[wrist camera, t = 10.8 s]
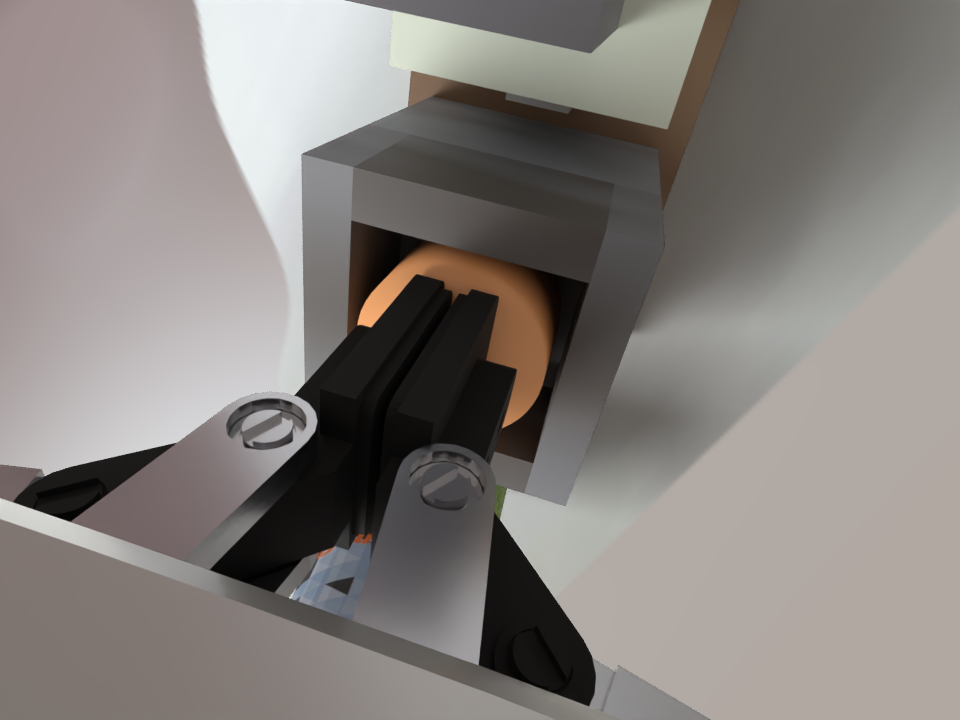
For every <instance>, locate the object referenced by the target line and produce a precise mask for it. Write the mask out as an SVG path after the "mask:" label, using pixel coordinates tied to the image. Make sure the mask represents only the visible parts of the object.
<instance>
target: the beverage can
mask: <svg viewBox="0 0 960 720" xmlns="http://www.w3.org/2000/svg"><path fill="white" fill-rule="evenodd" d="M496 488H497V489H496V498H495V508H494V512H495V514H496V515H497V516H498V518H499V519H500V516H501V512H502V507H503V503H504V499H505V494H506V490H507V488H506V487H502V486H499V485H496ZM372 529H373V526H372V528H371V530H370V532H369V533H368V535H366V536H365V535H362V534H357V536H356V538H355V540H354V541H353V543H352V545H351V547H350V549H349V550H346V549H343V548H340V547H337V546H334V547H333V548H330V549H328V550H325V551H322V552H319V553H317V558H316V561H315V563H314V565H313V567H312V568H311V570H310V572H309V573H308V574H307V575H306V577H305V578H304V579H303V580H302V582H301V583H300V584H299V585H298V587H297V588H296V590H295V592H294V594H293V597H292V598H291V599H293V600H296V601H298V602H301V603H304V604H307V605H310V606H313V607H316V608H318V609H321V610H324V611H327V612H330V613H332V614H335V615H338V616H341V617H344V618H346V619H349V620H353V617H354V613H355V610H356V607H357V603H358V600H359V597H360V594H361V590H362V587H363V584H364V580H365V577H366V574H367V571H368V567H369V564H370V553H371V541H372Z"/></svg>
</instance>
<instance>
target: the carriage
mask: <svg viewBox="0 0 960 720" xmlns="http://www.w3.org/2000/svg"><path fill="white" fill-rule="evenodd" d="M346 1H351V2H356V3H360V4H365V5H369V6H374V7H379V8H383V9H388V10H392V11H393V12H392V28H391V43H390V58H389V66H393V67H398V68H402V69H406V70H411V71H415V72H419V73H424V74H428V75H432V76H437V77H441V78H446V79H450V80H454V81H459V82H463V83H467V84H472V85H476V86H480V87H485V88H489V89H493V90H498V91H502V92H507V93H511V94H515V95H520V96H524V97H528V98H533V99H537V100H541V101H546V102H550V103H554V104H559V105H563V106H567V107H572V108H576V109H581V110H585V111H589V112H594V113H598V114H602V115H607V116H611V117H615V118H620V119H624V120H628V121H633V122H637V123H642V124H646V125H650V126H655V127H659V128H663V129H668V126H669V123H670V120H671V118H672V115H673V112H674V109H675V106H676V103H677V100H678V97H679V94H680V91H681V88H682V85H683V82H684V79H685V76H686V74H687V71H688V68H689V65H690V62H691V59H692V56H693V53H694V50H695V47H696V44H697V41H698V38H699V35H700V32H701V30H702V27H703V24H704V21H705V18H706V15H707V12H708V9H709V6H710V3H711V0H346Z"/></svg>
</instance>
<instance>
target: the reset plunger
mask: <svg viewBox="0 0 960 720" xmlns="http://www.w3.org/2000/svg"><path fill="white" fill-rule="evenodd" d="M416 274H419V275H423V276H426V277H430V278H434V279H437V280H441V281H444V283H445V288H444V289H447V290H450V291H452V294H453V296H452V303H451V305H452V304H453V302H454V300H455V299H456V297H457V296H458V294H459V293H461V294H465V295H468V294H469V292H470V290H471V289H474V290H478V291H482V292H485V293H489V294H493V295H496V296H499V302H498V307H497V311H496V316H495V321H494V326H493V330H492V335H491V340H490V344H489V349H488V354H487V358H486V360H487V361H490V362H494V363H497V364H501V365H504V366H508V367H511V368H515V369H517V374H516V378H515V382H514V386H513V390H512V394H511V398H510V402H509V406H508V409H507V413H506V417H505V420H504V423H503V427H502V428H504V427H506V426H508V425H510V424H512V423H513V422H515V421H516V420H518V419H519V418H521V417H522V416H523V415H524V414H525V413H526V412H527V411H528V410H529V409H530V407H531V406H532V405H533V404H534V402H535V400H536V399H537V397H538V395H539V393H540V390H541V388H542V385H543V382H544V378H545V374H546V371H547V367H548V363H549V360H550V356H551V352H552V349H553V345H554V341H555V338H556V334H557V330H558V327H559V322H560V318H561V296H560V292H559V288H558V284H557V282H556V279H555V276H554V274H552V273H548V272H545V271H541V270H537V269H533V268H529V267H526V266H522V265H518V264H514V263H511V262H507V261H503V260H499V259H495V258H492V257H488V256H484V255H480V254H477V253H473V252H469V251H465V250H461V249H458V248H454V247H450V246H446V245H442V244H439V243H435V242H431V241H427V240H424V239H422V240H421V241H420V242H419V243H418V244H417V245H416V246H415V247H414V248H413V249H412V250H411V252H410V253H409V254H408V255H407V256H406V257H405V258H404V259H403V260H402V261H401V262H400V263H399V264H398V265H397V266H396V267H395V268H394V270H393V271H392V272H391V273H390V274H389V275H388V276H387V277H386V278H385V279H384V280H383V281H382V282H381V283H380V284H379V285H378V286H377V287H376V289H375V290H374V291H373V292H372V293H371V294H370V296H369V297H368V299H367V300H366V301H365V303H364V306H363V308H362V310H361V312H360V316H359V319H358V325H364V326H368V327H372V326H373V325H374V323H375V322H376V321H377V320H378V319H379V318H380V316H381V315H382V314H383V313H384V312H385V310H386V309H387V308H388V307H389V306H390V304H391V303H392V302H393V301H394V300H395V298H396V297H397V296H398V295H399V294H400V292H401V291H402V290H403V289H404V288H405V286H406V285H407V284H408V283H409V282H410V280H411V279H412V278H413V277H414V276H415V275H416ZM358 325H357V326H358Z"/></svg>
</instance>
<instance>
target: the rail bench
mask: <svg viewBox="0 0 960 720" xmlns="http://www.w3.org/2000/svg"><path fill="white" fill-rule="evenodd" d="M739 1H740V0H711V3H710V6H709V9H708V12H707V15H706V18H705V21H704V24H703V27H702V30H701V32H700V35H699V38H698V41H697V44H696V47H695V50H694V53H693V56H692V59H691V62H690V65H689V68H688V71H687V74H686V76H685V79H684V82H683V85H682V88H681V91H680V94H679V97H678V100H677V103H676V106H675V109H674V112H673V115H672V118H671V120H670V123H669V126H668V129H663V128H659V127H655V126H650V125H646V124H642V123H637V122H633V121H628V120H624V119H620V118H615V117H611V116H607V115H602V114H598V113H594V112H589V111H585V110H581V109H576V108H572V107H567V106H563V105H559V104H554V103H550V102H546V101H541V100H537V99H533V98H528V97H524V96H520V95H515V94H511V93H507V92H502V91H498V90H493V89H489V88H485V87H480V86H476V85H472V84H467V83H463V82H459V81H454V80H450V79H446V78H441V77H437V76H432V75H428V74H424V73H419V72H415V71H411V78H410V90H409V101H408V107H407V108H404V109H402V110H400V111H398V112H395V113H393V114H391V115H389V116H386V117H384V118H382V119H380V120H377V121H375V122H373V123H371V124H368V125H366V126H364V127H362V128H359V129H357V130H355V131H353V132H350V133H348V134H346V135H344V136H341V137H339V138H337V139H335V140H332V141H330V142H328V143H326V144H323V145H321V146H319V147H317V148H314V149H312V150H310V151H307V152H305V153H303V154H302V219H303V285H304V351H305V383H306V382H307V381H308V380H309V379H310V377H311V376H312V375H313V374H314V373H315V372H316V371H317V370H318V368H319V367H320V366H321V365H322V364H323V363H324V362H325V360H326V359H327V358H328V357H329V356H330V355H331V354H332V353H333V351H334V350H335V349H336V348H337V347H338V346H339V345H340V344H341V342H342V341H343V340H344V339H345V338H346V337H347V336H348V335H349V333H350V332H351V331H352V330H353V329H354V328H355V327H356V326H357V325H358V319H359V316H360V312H361V310H362V308H363V306H364V303H365V301H366V300H367V299H368V297H369V296H370V294H371V293H372V292H373V291H374V290H375V289H376V287H377V286H378V285H379V284H380V283H381V282H382V281H383V280H384V279H385V278H386V277H387V276H388V275H389V274H390V273H391V272H392V271H393V270H394V268H395V267H396V266H397V265H398V264H399V263H400V262H401V261H402V260H403V259H404V258H405V257H406V256H407V255H408V254H409V253H410V252H411V250H412V249H413V248H414V247H415V246H416V245H417V244H418V243H419V242H420V241H421V240H422V239H424V240H427V241H431V242H435V243H439V244H442V245H446V246H450V247H454V248H458V249H461V250H465V251H469V252H473V253H477V254H480V255H484V256H488V257H492V258H495V259H499V260H503V261H507V262H511V263H514V264H518V265H522V266H526V267H529V268H533V269H537V270H541V271H545V272H548V273H552V274H554V276H555V279H556V282H557V284H558V288H559V292H560V296H561V318H560V322H559V327H558V330H557V334H556V338H555V341H554V345H553V349H552V352H551V356H550V360H549V363H548V367H547V371H546V374H545V378H544V382H543V385H542V388H541V390H540V393H539V395H538V397H537V399H536V400H535V402H534V404H533V405H532V406H531V407H530V409H529V410H528V411H527V412H526V413H525V414H524V415H523V416H522V417H521V418H519V419H518V420H516V421H515V422H513V423H512V424H510V425H508V426H506V427H504V428H502V430H501V433H500V436H499V439H498V442H497V445H496V448H495V451H494V454H493V457H492V460H491V463H490V467H491V469H492V471H493V473H494V475H495V478H496V485H499V486H502V487H506V488H509V489H512V490H515V491H518V492H522V493H525V494H528V495H531V496H535V497H538V498H541V499H544V500H547V501H551V502H554V503H557V504H560V505H564V506H566V503H567V500H568V498H569V495H570V493H571V490H572V487H573V485H574V482H575V479H576V477H577V474H578V472H579V469H580V466H581V464H582V461H583V459H584V456H585V453H586V451H587V448H588V445H589V443H590V440H591V438H592V435H593V432H594V430H595V427H596V424H597V422H598V419H599V417H600V414H601V411H602V409H603V406H604V403H605V401H606V398H607V396H608V393H609V390H610V388H611V385H612V383H613V380H614V377H615V375H616V372H617V369H618V367H619V364H620V362H621V359H622V356H623V354H624V351H625V348H626V346H627V343H628V341H629V338H630V335H631V333H632V330H633V327H634V325H635V322H636V320H637V317H638V314H639V312H640V309H641V306H642V304H643V301H644V299H645V296H646V293H647V291H648V288H649V286H650V283H651V280H652V278H653V275H654V272H655V270H656V267H657V265H658V262H659V259H660V257H661V254H662V251H663V249H664V246H665V245H664V230H663V215H662V212H663V209H664V206H665V203H666V201H667V198H668V195H669V192H670V190H671V187H672V184H673V181H674V179H675V176H676V173H677V170H678V168H679V165H680V162H681V160H682V157H683V154H684V151H685V149H686V146H687V143H688V140H689V138H690V135H691V132H692V129H693V127H694V124H695V121H696V118H697V116H698V113H699V110H700V108H701V105H702V102H703V99H704V97H705V94H706V91H707V88H708V86H709V83H710V80H711V77H712V75H713V72H714V69H715V66H716V64H717V61H718V58H719V56H720V53H721V50H722V47H723V45H724V42H725V39H726V36H727V34H728V31H729V28H730V25H731V23H732V20H733V17H734V14H735V12H736V9H737V6H738V4H739Z"/></svg>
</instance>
